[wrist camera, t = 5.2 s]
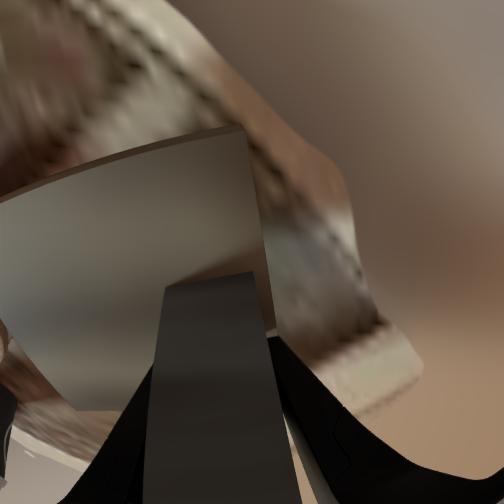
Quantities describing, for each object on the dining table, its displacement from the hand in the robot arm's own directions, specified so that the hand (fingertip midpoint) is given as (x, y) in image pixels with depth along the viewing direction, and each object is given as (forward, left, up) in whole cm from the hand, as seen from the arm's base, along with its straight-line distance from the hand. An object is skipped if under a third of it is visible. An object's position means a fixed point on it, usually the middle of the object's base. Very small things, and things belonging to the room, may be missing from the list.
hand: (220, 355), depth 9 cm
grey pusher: (0, +4, -4) cm, 5 cm away
